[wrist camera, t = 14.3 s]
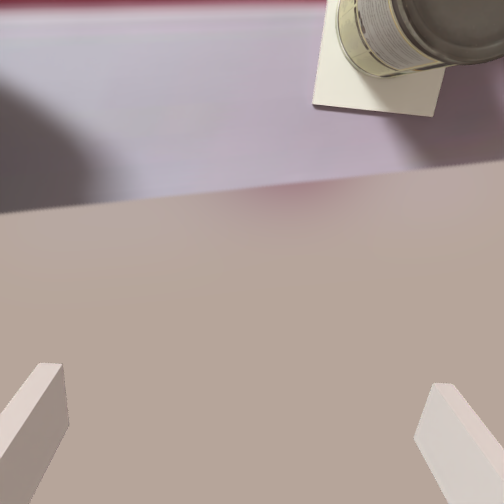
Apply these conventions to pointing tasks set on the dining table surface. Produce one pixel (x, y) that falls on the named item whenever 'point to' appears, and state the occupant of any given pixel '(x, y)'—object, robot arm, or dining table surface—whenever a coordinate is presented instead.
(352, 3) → the coffee can
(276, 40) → the dining table surface
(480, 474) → the robot arm
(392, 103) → the mount pad
